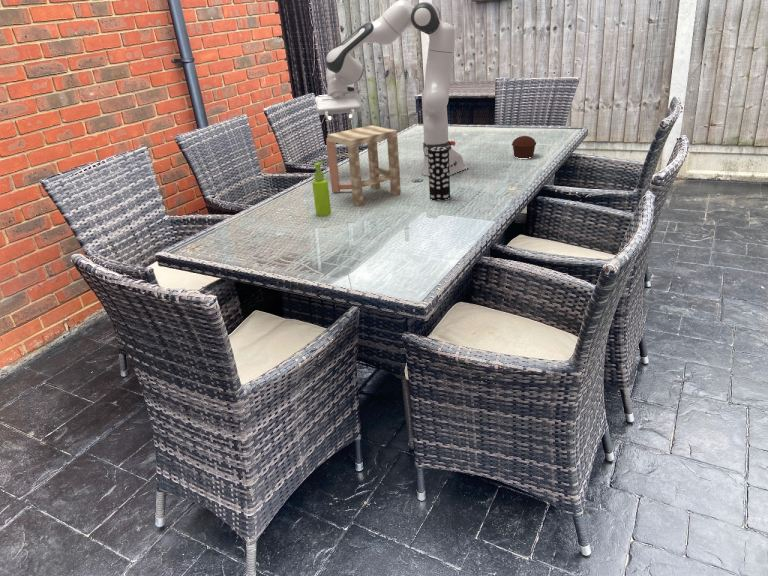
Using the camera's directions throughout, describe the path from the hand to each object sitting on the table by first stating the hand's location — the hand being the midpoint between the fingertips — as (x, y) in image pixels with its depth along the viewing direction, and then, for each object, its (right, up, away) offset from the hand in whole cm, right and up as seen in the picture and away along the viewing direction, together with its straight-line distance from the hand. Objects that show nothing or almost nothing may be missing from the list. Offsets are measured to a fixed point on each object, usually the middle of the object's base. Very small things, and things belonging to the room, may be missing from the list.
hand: (340, 120), depth 259 cm
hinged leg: (+3, -32, -4) cm, 32 cm away
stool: (+12, -35, -10) cm, 38 cm away
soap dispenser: (-4, -44, -26) cm, 52 cm away
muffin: (+88, -10, +28) cm, 92 cm away
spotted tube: (+42, -38, -20) cm, 60 cm away
